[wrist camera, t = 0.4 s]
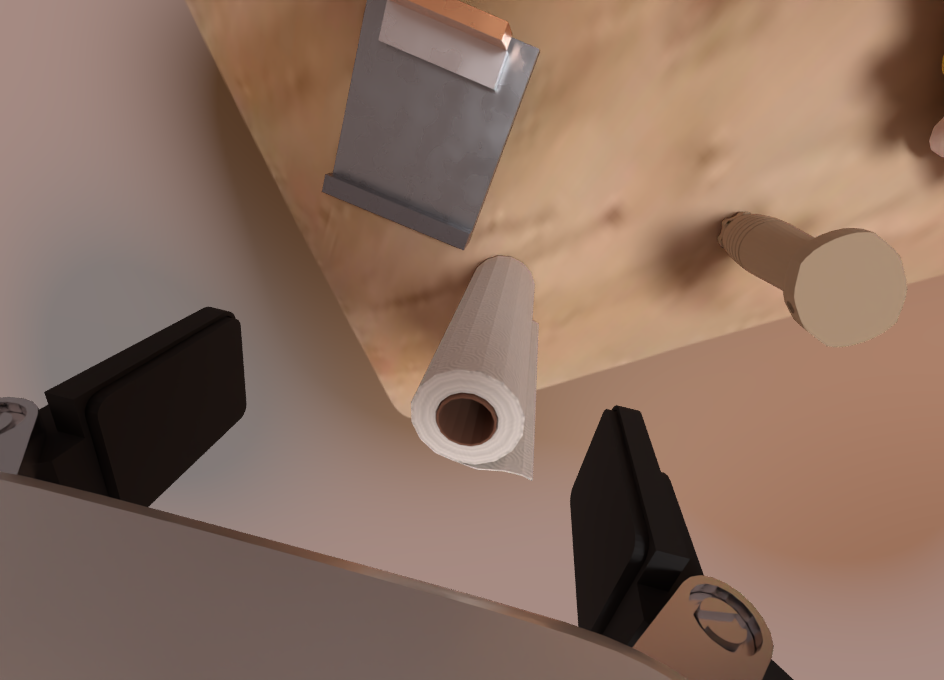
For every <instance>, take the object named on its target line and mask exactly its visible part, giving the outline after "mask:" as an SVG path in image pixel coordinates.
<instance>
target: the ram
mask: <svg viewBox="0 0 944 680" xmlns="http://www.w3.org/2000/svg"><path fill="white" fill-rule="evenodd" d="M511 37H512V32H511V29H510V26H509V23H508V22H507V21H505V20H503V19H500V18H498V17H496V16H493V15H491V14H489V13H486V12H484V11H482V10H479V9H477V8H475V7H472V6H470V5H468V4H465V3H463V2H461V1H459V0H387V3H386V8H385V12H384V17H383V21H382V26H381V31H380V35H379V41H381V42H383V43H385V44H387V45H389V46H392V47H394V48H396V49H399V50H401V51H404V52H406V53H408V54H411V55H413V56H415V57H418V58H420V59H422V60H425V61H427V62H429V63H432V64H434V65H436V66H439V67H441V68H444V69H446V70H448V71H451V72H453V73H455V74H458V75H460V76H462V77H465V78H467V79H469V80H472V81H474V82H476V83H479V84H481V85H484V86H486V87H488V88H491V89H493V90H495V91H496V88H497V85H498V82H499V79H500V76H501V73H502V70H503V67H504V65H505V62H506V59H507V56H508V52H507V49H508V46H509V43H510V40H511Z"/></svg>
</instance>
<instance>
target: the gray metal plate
mask: <svg viewBox="0 0 944 680" xmlns="http://www.w3.org/2000/svg"><path fill="white" fill-rule="evenodd" d="M386 3H387V0H367V3H366V8H365V13H364V18H363V23H362V28H361V34H360V39H359V44H358V49H357V54H356V59H355V64H354V69H353V74H352V79H351V84H350V90H349V95H348V100H347V105H346V110H345V115H344V120H343V125H342V130H341V135H340V140H339V146H338V151H337V156H336V161H335V166H334V171H333V173H329V174H325V179H324V184H323V189H322V192H324V193H326V194H329V195H331V196H334V197H336V198H338V199H341V200H343V201H346V202H348V203H350V204H353V205H355V206H358V207H360V208H363V209H365V210H367V211H370V212H372V213H375V214H377V215H380V216H382V217H384V218H387V219H389V220H392V221H394V222H396V223H399V224H401V225H404V226H406V227H409V228H411V229H413V230H416V231H418V232H421V233H423V234H426V235H428V236H430V237H433V238H435V239H438V240H440V241H442V242H445V243H447V244H450V245H452V246H455V247H457V248H459V249H462V250H464V249H465V247H466V246H467V244H468V243H469V241H470V238H471V236H472V233H473V230H474V228H475V225H476V222H477V220H478V217H479V214H480V212H481V209H482V206H483V203H484V201H485V198H486V195H487V193H488V190H489V187H490V185H491V182H492V179H493V177H494V174H495V171H496V168H497V166H498V163H499V160H500V158H501V155H502V152H503V150H504V147H505V144H506V142H507V139H508V136H509V134H510V131H511V128H512V125H513V123H514V120H515V117H516V115H517V112H518V109H519V107H520V104H521V101H522V99H523V96H524V93H525V91H526V88H527V85H528V82H529V80H530V77H531V74H532V72H533V69H534V66H535V64H536V61H537V58H538V56H539V53H540V50H539V49H538V48H536V47H533V46H531V45H529V44H526V43H524V42H522V41H519V40H517V39H515V38H512V37H511V40H510V43H509V46H508V49H507V52H508V56H507V59H506V62H505V65H504V67H503V70H502V73H501V76H500V79H499V82H498V85H497V88H496V91H495V90H493V89H491V88H488V87H486V86H484V85H481V84H479V83H476V82H474V81H472V80H469V79H467V78H465V77H462V76H460V75H458V74H455V73H453V72H451V71H448V70H446V69H444V68H441V67H439V66H436V65H434V64H432V63H429V62H427V61H425V60H422V59H420V58H418V57H415V56H413V55H411V54H408V53H406V52H404V51H401V50H399V49H396V48H394V47H392V46H389V45H387V44H385V43H383V42H381V41H379V35H380V31H381V26H382V21H383V17H384V12H385V8H386Z"/></svg>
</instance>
